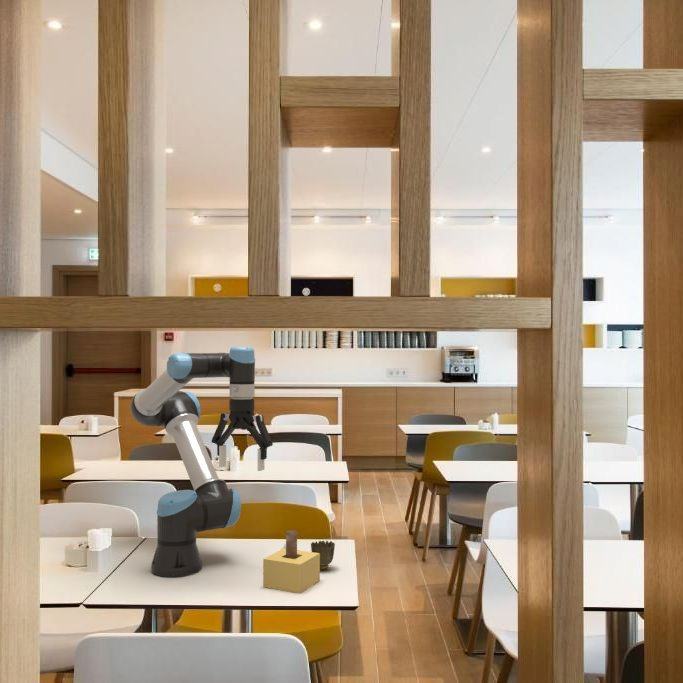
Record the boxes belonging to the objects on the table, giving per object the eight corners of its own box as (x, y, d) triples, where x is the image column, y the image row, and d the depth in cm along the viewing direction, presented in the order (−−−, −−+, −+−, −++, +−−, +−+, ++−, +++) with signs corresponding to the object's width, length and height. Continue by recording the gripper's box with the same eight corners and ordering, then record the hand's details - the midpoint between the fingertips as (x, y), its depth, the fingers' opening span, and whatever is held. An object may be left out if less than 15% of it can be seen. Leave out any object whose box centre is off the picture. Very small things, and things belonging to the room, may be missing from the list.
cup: (310, 565, 227) (310, 540, 227) (333, 565, 227) (334, 539, 227) (311, 573, 219) (311, 546, 219) (335, 572, 220) (335, 546, 220)
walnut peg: (283, 581, 209) (284, 532, 209) (289, 577, 212) (289, 529, 212) (293, 582, 207) (293, 533, 207) (298, 579, 210) (299, 531, 210)
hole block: (263, 586, 207) (263, 558, 207) (283, 574, 218) (284, 548, 218) (300, 593, 202) (300, 564, 202) (319, 580, 212) (319, 553, 212)
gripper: (200, 397, 220) (200, 467, 220) (271, 400, 210) (271, 473, 209) (214, 395, 227) (214, 463, 227) (284, 398, 216) (283, 469, 216)
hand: (241, 468), depth 218 cm, fingers open, 13 cm apart
